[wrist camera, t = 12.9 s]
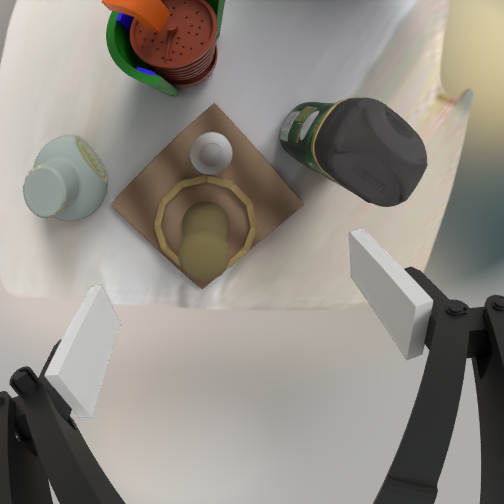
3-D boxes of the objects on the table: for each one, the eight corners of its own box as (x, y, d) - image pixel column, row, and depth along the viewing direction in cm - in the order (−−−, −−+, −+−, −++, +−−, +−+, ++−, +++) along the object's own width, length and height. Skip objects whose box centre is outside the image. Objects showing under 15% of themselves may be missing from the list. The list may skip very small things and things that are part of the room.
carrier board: (214, 103, 35) (214, 100, 28) (300, 201, 42) (317, 219, 35) (114, 201, 38) (95, 219, 32) (202, 284, 45) (200, 314, 38)
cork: (194, 253, 41) (189, 298, 31) (174, 213, 39) (161, 248, 29) (236, 235, 41) (245, 276, 31) (218, 193, 38) (220, 222, 28)
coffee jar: (359, 132, 38) (449, 152, 22) (329, 180, 41) (403, 229, 24) (300, 91, 35) (367, 77, 19) (268, 143, 38) (312, 167, 21)
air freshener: (37, 162, 34) (-3, 177, 25) (78, 123, 33) (41, 128, 24) (79, 222, 39) (49, 252, 30) (122, 187, 38) (96, 210, 29)
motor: (202, 102, 35) (190, 88, 17) (134, 87, 33) (63, 67, 15) (228, 30, 31) (243, -43, 13) (160, 15, 29) (118, -58, 11)
